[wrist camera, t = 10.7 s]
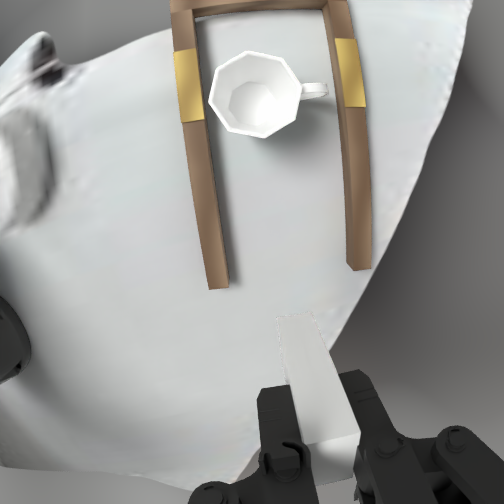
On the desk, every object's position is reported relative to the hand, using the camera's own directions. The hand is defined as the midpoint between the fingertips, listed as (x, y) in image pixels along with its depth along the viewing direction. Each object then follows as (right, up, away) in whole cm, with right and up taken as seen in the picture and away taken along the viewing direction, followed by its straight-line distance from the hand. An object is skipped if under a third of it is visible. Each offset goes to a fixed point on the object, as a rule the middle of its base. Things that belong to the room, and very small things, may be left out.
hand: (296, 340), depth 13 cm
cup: (-1, +18, +15) cm, 24 cm away
